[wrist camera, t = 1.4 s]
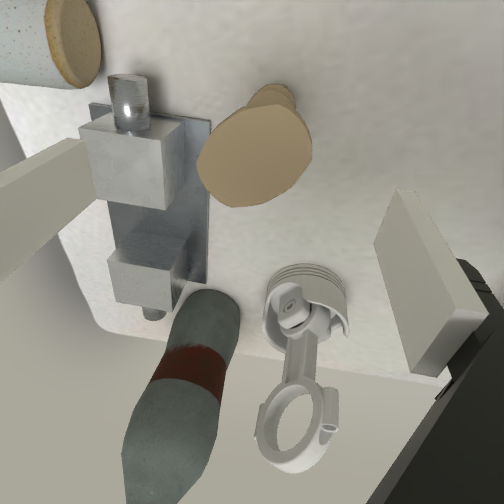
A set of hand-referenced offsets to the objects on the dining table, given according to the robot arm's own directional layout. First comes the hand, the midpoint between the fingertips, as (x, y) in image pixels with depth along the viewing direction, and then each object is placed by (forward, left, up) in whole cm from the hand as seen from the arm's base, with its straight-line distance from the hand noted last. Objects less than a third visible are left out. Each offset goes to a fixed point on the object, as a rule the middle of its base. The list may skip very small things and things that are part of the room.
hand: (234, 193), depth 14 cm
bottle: (+5, +29, -19) cm, 35 cm away
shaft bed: (+12, +13, -19) cm, 26 cm away
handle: (0, 0, -19) cm, 19 cm away
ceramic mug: (+20, -4, -19) cm, 28 cm away
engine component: (-7, +23, -19) cm, 31 cm away
